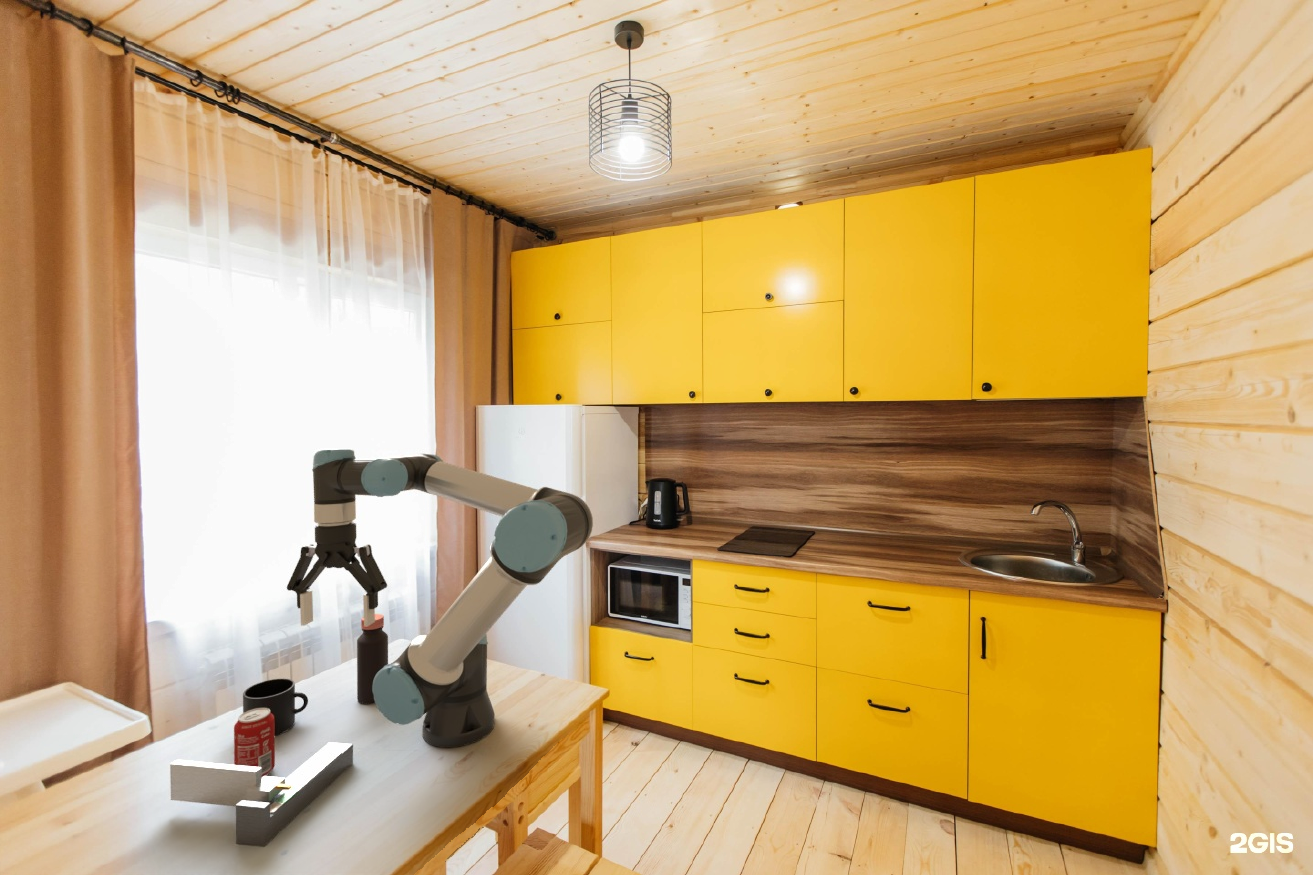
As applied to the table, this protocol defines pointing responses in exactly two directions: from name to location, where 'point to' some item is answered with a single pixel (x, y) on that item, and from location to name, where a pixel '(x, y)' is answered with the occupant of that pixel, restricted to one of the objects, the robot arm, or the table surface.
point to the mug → (275, 701)
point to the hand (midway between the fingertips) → (338, 623)
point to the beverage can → (255, 740)
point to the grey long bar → (291, 796)
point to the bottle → (370, 657)
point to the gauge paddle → (222, 783)
